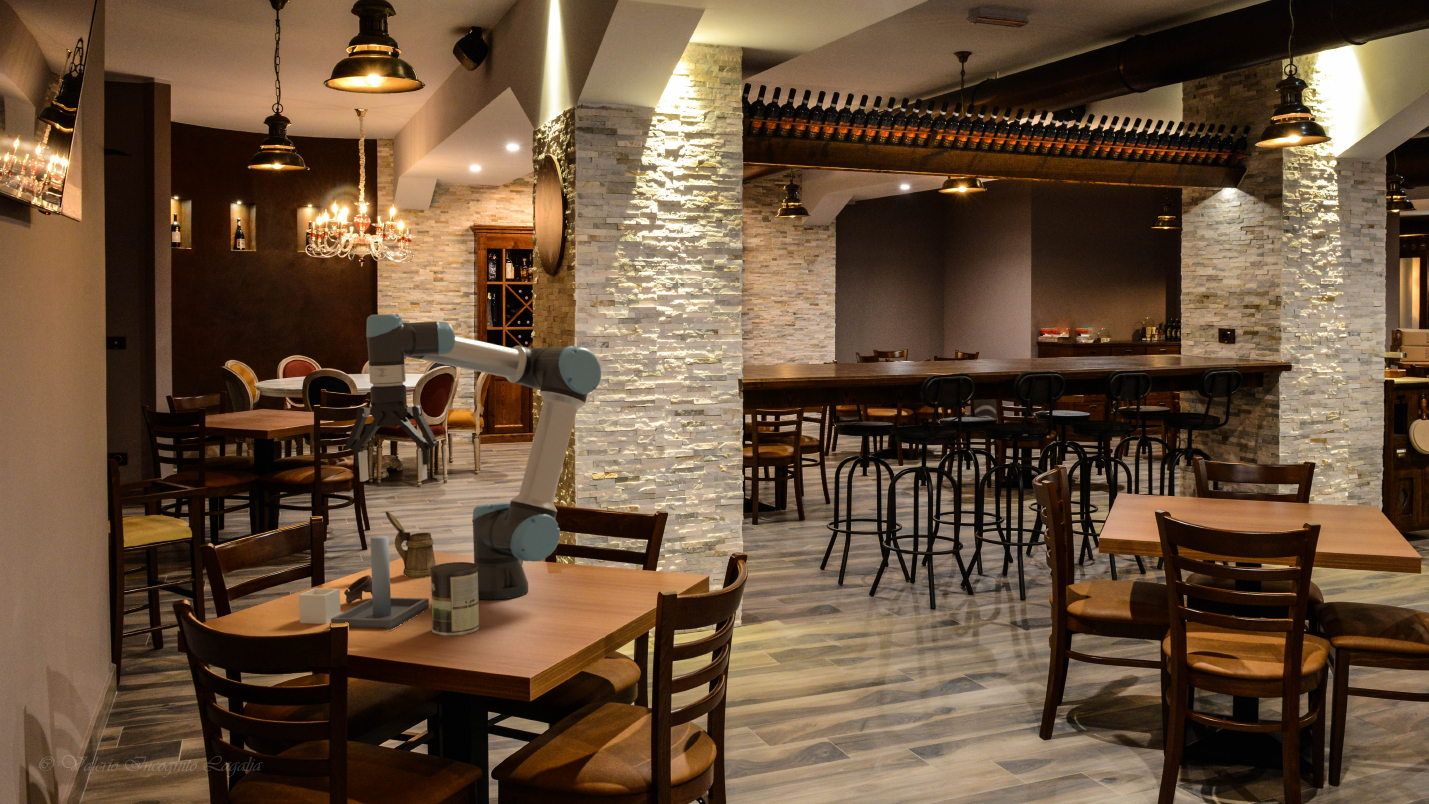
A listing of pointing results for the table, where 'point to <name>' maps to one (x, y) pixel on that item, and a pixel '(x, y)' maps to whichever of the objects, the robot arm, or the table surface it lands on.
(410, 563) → the wooden mug
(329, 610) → the cube pedestal base
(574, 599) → the table surface
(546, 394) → the robot arm
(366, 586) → the brown curved piece
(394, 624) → the tray
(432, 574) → the coffee can
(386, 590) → the dowel
